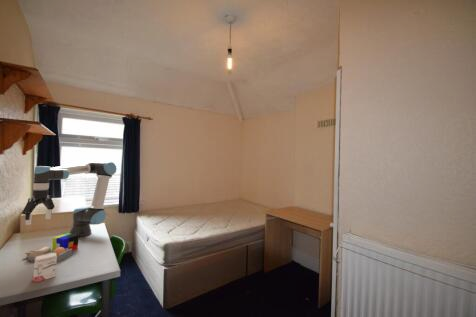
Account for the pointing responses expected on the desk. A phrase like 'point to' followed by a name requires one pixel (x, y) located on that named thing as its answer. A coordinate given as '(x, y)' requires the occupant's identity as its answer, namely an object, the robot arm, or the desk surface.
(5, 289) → the desk surface
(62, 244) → the puzzle toy
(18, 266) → the desk surface
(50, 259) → the ink box
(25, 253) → the tee
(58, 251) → the ball
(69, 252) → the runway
